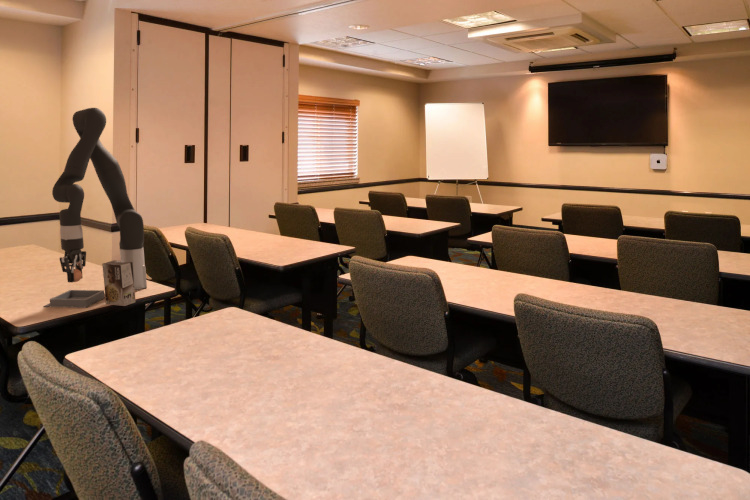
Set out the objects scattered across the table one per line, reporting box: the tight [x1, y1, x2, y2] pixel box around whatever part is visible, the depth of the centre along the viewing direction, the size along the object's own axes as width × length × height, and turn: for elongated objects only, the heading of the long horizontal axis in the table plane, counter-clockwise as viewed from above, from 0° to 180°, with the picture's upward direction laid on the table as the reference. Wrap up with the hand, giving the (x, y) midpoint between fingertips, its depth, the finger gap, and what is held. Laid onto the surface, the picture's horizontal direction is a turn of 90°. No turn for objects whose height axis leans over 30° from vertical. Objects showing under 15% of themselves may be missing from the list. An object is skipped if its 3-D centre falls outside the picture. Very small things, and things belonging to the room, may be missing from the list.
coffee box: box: [101, 259, 136, 307], centre depth 212 cm, size 9×6×16 cm
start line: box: [42, 302, 51, 308], centre depth 214 cm, size 2×14×1 cm, turn 179°
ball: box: [73, 268, 83, 283], centre depth 212 cm, size 5×5×5 cm
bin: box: [49, 289, 106, 309], centre depth 214 cm, size 14×14×3 cm
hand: (75, 280), depth 213 cm, fingers closed on ball, 5 cm apart
